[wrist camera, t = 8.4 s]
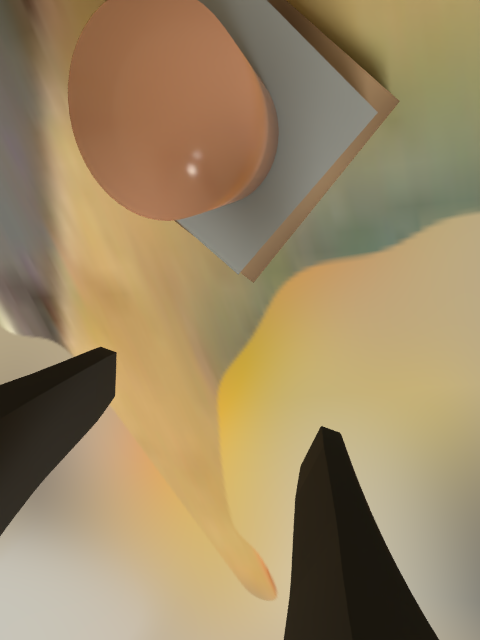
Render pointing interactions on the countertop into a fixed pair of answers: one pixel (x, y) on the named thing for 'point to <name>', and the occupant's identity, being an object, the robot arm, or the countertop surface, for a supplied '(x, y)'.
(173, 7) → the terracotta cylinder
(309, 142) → the gray slab
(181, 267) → the countertop surface
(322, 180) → the walnut slab
